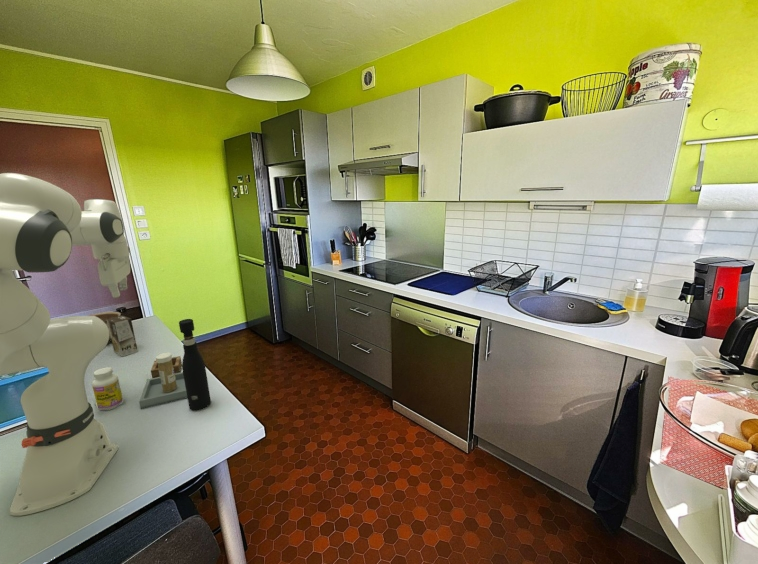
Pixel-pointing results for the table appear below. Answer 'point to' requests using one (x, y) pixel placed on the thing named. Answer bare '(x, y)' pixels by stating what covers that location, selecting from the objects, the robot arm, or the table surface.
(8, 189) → the robot arm
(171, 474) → the table surface
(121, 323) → the coffee box
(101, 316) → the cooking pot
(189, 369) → the black water bottle
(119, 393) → the supplement bottle
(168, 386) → the sprinkles bottle
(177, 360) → the walnut collar
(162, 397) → the slate tray
